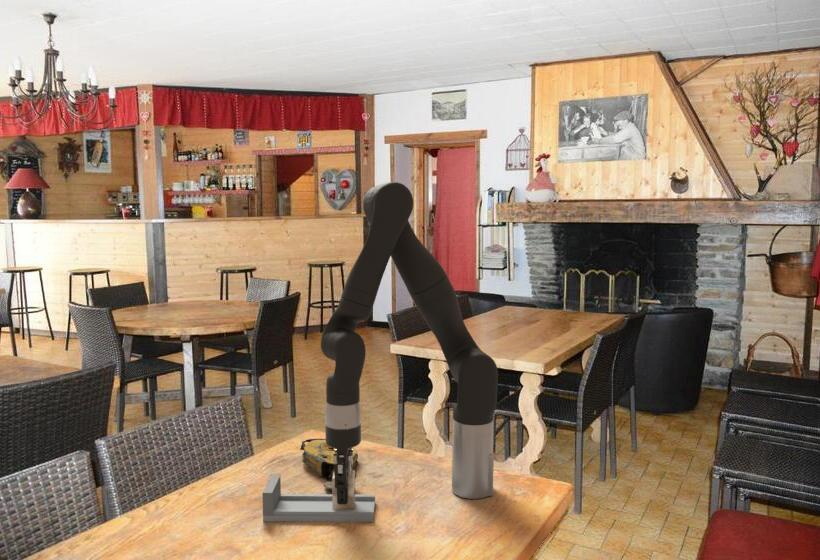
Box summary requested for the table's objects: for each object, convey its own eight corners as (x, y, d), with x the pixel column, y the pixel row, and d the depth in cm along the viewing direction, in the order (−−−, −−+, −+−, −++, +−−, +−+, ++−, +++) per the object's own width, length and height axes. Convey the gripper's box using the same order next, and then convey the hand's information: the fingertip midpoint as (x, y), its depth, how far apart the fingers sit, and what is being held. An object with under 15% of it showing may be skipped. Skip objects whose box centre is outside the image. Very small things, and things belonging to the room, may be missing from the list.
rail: (375, 502, 151) (375, 476, 150) (372, 521, 142) (372, 493, 142) (271, 501, 151) (271, 475, 151) (263, 521, 142) (262, 492, 142)
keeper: (354, 500, 149) (354, 470, 148) (353, 509, 144) (353, 478, 144) (334, 500, 149) (334, 469, 148) (332, 509, 144) (332, 478, 144)
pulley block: (312, 473, 151) (300, 429, 180) (308, 498, 152) (297, 450, 181) (373, 477, 155) (352, 433, 184) (369, 501, 155) (349, 454, 184)
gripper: (358, 433, 137) (358, 514, 139) (363, 411, 151) (363, 484, 154) (321, 433, 137) (321, 513, 139) (329, 411, 151) (330, 484, 154)
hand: (343, 498), depth 146 cm, fingers closed on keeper, 4 cm apart
